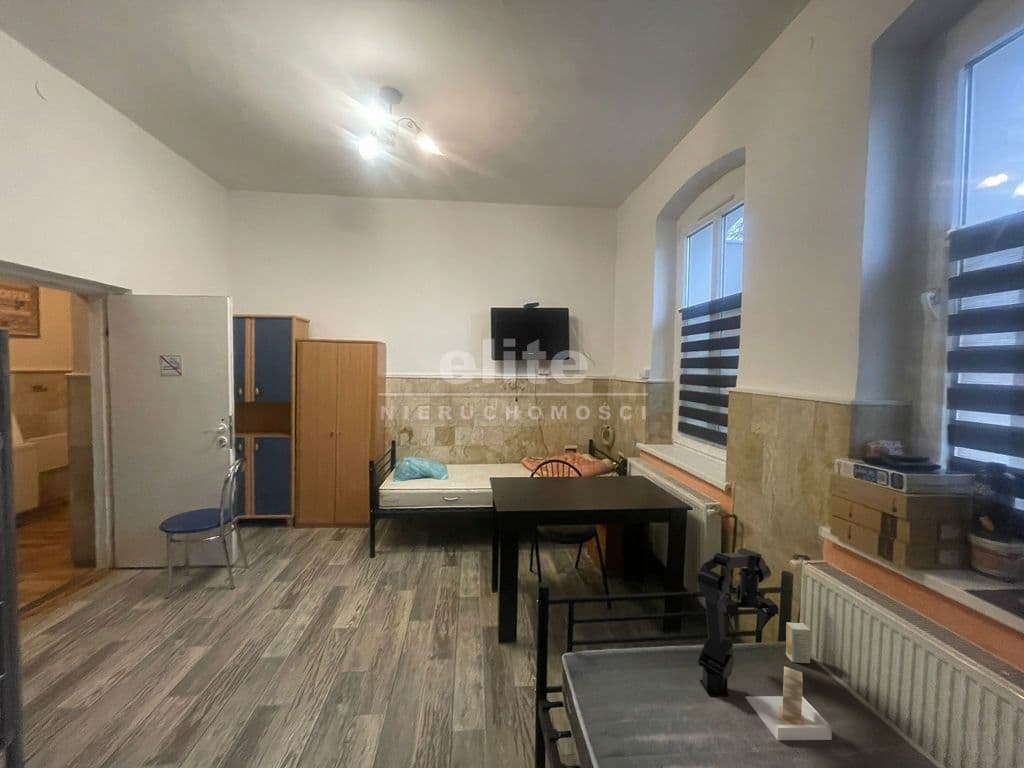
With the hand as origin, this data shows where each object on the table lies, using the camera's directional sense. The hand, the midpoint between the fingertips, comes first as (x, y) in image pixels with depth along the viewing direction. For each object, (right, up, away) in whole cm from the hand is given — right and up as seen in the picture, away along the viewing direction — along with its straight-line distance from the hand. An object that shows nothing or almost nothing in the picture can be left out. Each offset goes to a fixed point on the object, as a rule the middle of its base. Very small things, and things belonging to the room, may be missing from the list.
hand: (747, 629), depth 147 cm
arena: (-2, -13, -23) cm, 26 cm away
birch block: (0, -12, -24) cm, 27 cm away
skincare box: (+20, -13, +3) cm, 24 cm away
